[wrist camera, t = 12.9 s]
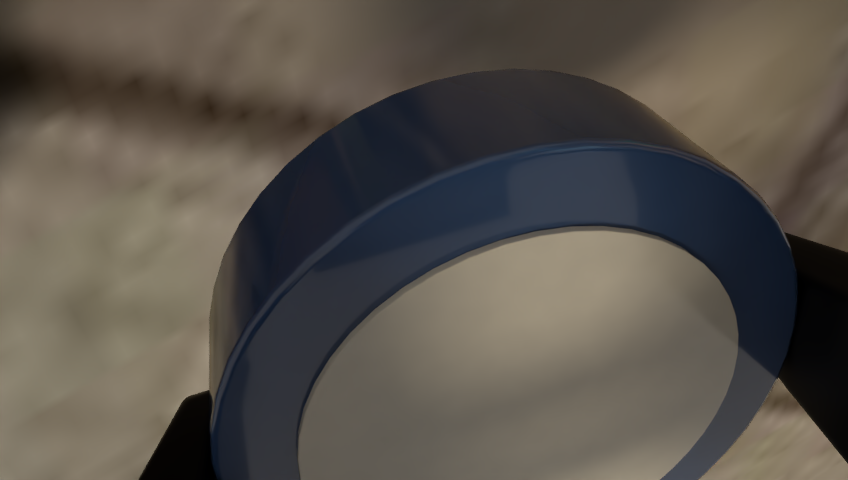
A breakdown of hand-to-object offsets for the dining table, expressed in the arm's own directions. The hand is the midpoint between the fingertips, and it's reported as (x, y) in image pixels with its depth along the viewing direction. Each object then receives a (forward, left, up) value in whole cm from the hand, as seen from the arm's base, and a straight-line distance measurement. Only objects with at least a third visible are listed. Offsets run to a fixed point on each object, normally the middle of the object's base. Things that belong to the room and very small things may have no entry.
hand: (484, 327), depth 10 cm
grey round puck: (0, 0, -1) cm, 1 cm away
